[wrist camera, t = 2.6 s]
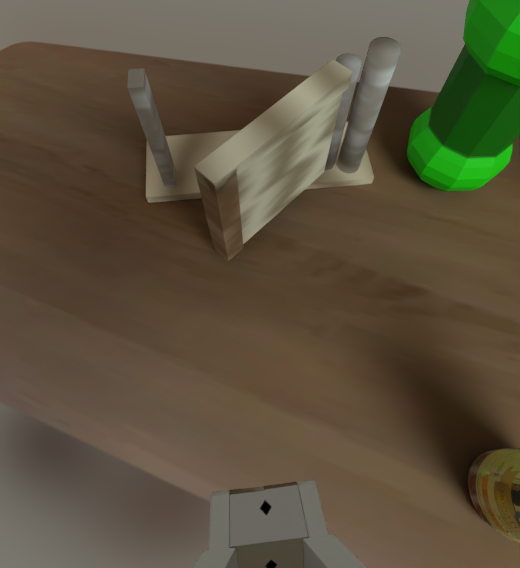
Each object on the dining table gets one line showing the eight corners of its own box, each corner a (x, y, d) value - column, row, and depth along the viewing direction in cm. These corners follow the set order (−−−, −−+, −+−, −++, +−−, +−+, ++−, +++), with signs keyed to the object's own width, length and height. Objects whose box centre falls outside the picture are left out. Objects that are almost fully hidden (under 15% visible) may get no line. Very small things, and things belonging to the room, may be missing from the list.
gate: (324, 152, 40) (347, 47, 29) (338, 162, 40) (367, 59, 29) (213, 248, 36) (193, 166, 25) (228, 261, 35) (214, 183, 24)
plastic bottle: (508, 175, 41) (829, -167, 18) (443, 226, 38) (719, -93, 15) (438, 120, 44) (636, -233, 21) (374, 165, 41) (517, -179, 18)
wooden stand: (356, 127, 44) (397, -5, 31) (371, 183, 40) (423, 63, 28) (149, 144, 43) (100, 15, 30) (148, 202, 40) (94, 88, 27)
